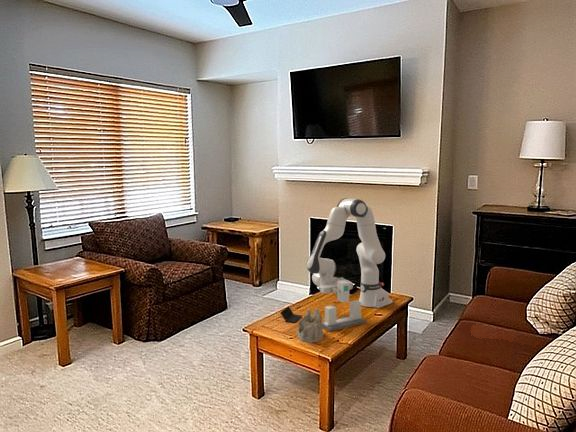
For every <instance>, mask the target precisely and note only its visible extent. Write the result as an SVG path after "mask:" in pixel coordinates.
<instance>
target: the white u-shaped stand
mask: <svg viewBox="0 0 576 432" xmlns="http://www.w3.org/2000/svg"><path fill="white" fill-rule="evenodd" d="M321 322H322V323H321V324H322V328H324V329H325V330H326V331H328V332H332V331H338V330H340V329H345V328H350V327H353V326H357V325H358V326H359V325H361V324H366V323H367V319H365V318H363V316H362V305H361V302H360V301H359V299H358V300H357V299H356V300H351V301H349V315H347V316H343V317H338V318H337V306H334V305H327V306H324V321H321Z"/></svg>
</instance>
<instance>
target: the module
mask: <svg viewBox="0 0 576 432" xmlns="http://www.w3.org/2000/svg"><path fill="white" fill-rule="evenodd" d="M337 289H340V290H341V293H336V301H338V302H341V303H343V304H344V303H350V289H349V282H347V281H345V280H341V281H337Z"/></svg>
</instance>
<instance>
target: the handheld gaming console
mask: <svg viewBox="0 0 576 432" xmlns="http://www.w3.org/2000/svg"><path fill="white" fill-rule="evenodd" d="M279 313H280V315H281V317H282V318H283V319H284V321H285V323H289V324H290V323H292V324H296V323H298V322H299V321H300V320H301V319H302V318H303V315H300V314H296V313H295V314H294V312H293V310H292V309H291V308H290V306H287V307H285V308H284V309H283V310H281V312H279Z"/></svg>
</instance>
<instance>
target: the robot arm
mask: <svg viewBox="0 0 576 432" xmlns="http://www.w3.org/2000/svg"><path fill="white" fill-rule="evenodd" d="M349 217H354V218H355V219H356V225H357V226H356V227H357V232H358V237H359V239H360V240H361V242H360V243H358V245H357V246H356V249H355V250H356V253H357V256H358V260H359V265H360V273H361V275H360V284H359V285H360V293H359V294H360V295H359V299H358V301H360V302H361V307H362V306H363V307H367V308H368V307H369V308H377V309H379V308H382V307H385V306H388V305H391V304H393V300H392V299H391V298H390V295H389V293H388V291H386V290H385V289H383V288H382V287H383V286H385V283H384V282H380V280H379V277H380V271H379V268H378V266H377V265H379V264H382V263H383V262H384V261H385V259H386V253H385V251H384V249H383V248H382V245H381V242H380V239H379V237H378V234H377V228H376V227H377V226H376V221H375V216H374V212H373V210H372V208H371V207H370V206H369V205H367V203H366V202H365V201H363V200H362V199H357V198H352V197H351V198H348V197H345V198H342V199H340V200H339V201H338V203H337V205H336V206H335V207H333V208H332V209H331V210H330V212H329V216H328V218H327V221H326V225H325V228H324V229H323V230H322V231H320V232H319V234H318V235H317V238H316V240H315V243H314V245H313V247H312V251H311V253H310V256H309V258H308V259H307V261H306V265H305V266H306V268H307V271H308V272H309V273H310V274H312V275H311V280H312V282H313V284H314V285H316V288H317V289H318V290H319V291H320V293H322V294H324V295H326V294H331V293H336V294H337V293H341V290H340V289H337V281H341V280H345V281H347V282H349V290H353V287H354V284H353V282H352V281H350V280H348V279H345V278H344V277H343V276H342V277H341V276H340V277H339V276H335V274H336V272H337V264H336V262H335V261H334V260H333V259H330V258H326V257H325V258H323V257H321V255H322V251H323V249H324V246H325V245H326V244H327V243H329V242H332V241H335V240H338V239H340V238H341V237H342V236H343V235H344V232H345V228H346V222H347V220H348V218H349Z"/></svg>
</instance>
